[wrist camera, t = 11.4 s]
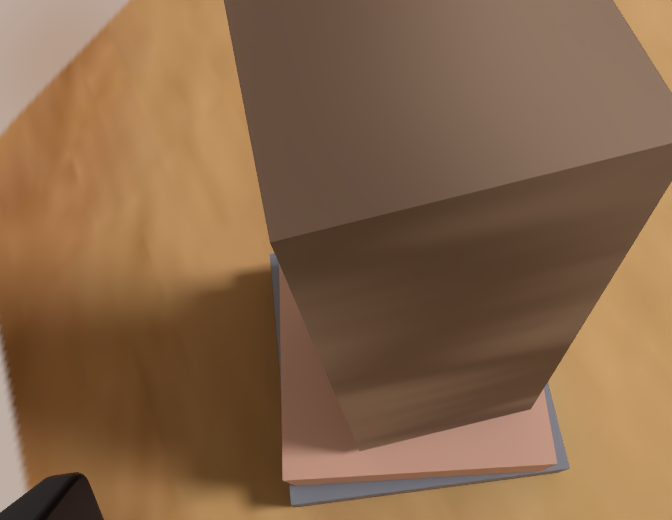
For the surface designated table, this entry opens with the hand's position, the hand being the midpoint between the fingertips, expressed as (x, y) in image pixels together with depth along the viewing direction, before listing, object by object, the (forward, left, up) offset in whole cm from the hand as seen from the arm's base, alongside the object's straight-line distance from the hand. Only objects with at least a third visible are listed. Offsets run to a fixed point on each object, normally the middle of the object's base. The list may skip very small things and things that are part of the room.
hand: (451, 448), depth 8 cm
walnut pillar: (+2, -2, -9) cm, 10 cm away
